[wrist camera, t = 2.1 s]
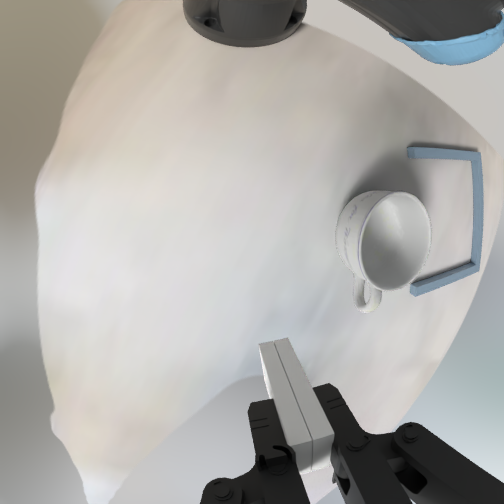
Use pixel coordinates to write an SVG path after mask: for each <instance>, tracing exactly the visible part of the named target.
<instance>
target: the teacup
mask: <svg viewBox="0 0 504 504" xmlns="http://www.w3.org/2000/svg"><path fill="white" fill-rule="evenodd" d="M335 237H336V246H337V250H338V253H339V256H340V258H341V259H342V261H343V262H344V264H345V265H346V266H347V267H348V268H349V269H350V270H351V271H352V272H354V273H353V275H354V289H353V300H354V304H355V307H356V308H357V309H358V310H359V311H361V312H363V313H371V312H373V311H375V310H376V309H377V308H378V306H379V304H380V302H381V298H382V291H395V290H399V289H402V288H404V287H405V286H407V285H408V284H410V283H411V282H412V281H413V280H414V279H415V278H416V277H417V275H418V274H419V273H420V271H421V270H422V268H423V266H424V265H425V263H426V260H427V258H428V255H429V252H430V247H431V239H432V228H431V222H430V218H429V215H428V212H427V210H426V208H425V207H424V205H423V204H422V202H421V201H420V200H419V199H418V198H417V197H416V196H415V195H413V194H410V193H408V192H404V191H395V192H393V191H368V192H364V193H362V194H360V195H358V196H356V197H354V198H353V199H352V200H351V201H350V202H349V203H348V204H347V205H346V206H345V208H344V209H343V211H342V212H341V214H340V217H339V219H338V222H337V226H336V234H335ZM365 281H366V282H367V284H368V286H369V288H370V298H369V301H368V302H367V304H366V303H365V300H364V283H365Z"/></svg>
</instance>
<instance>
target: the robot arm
mask: <svg viewBox="0 0 504 504" xmlns="http://www.w3.org/2000/svg"><path fill="white" fill-rule="evenodd" d="M339 1H340V2H343V3H344V4H346V5H348V6H349V7H351V8H353V9H354V10H356V11H358V12H359V13H361V14H363V15H364V16H366V17H367V18H369V19H370V20H372V21H374V22H375V23H376V24H378V25H379V26H381V27H382V28H384V29H385V30H386V31H388V32H389V34H390V35H391V36H392V37H393V38H394V39H396V40H398V41H400V42H403V43H404V44H405V45H407V46H408V47H409V48H411V49H412V50H413V51H415V52H416V53H417V54H419V55H420V56H421V57H423V58H424V59H426V60H428V61H430V62H433V63H437V64H446V65H462V64H468V63H471V62H475V61H478V60H480V59H483V58H485V57H487V56H489V55H490V54H492V53H493V52H495V51H496V50H497V49H498V48H499V47H500V46H501V45H502V44H503V43H504V14H503V12H502V11H501V10H502V9H503V8H504V0H339ZM306 2H307V0H183V8H184V14H185V18H186V20H187V22H188V23H189V25H190V26H191V27H192V28H193V29H194V30H195V31H196V32H197V33H199V34H200V35H202V36H203V37H205V38H207V39H209V40H212V41H214V42H217V43H221V44H224V45H229V46H236V47H259V46H266V45H270V44H274V43H277V42H279V41H281V40H284V39H285V38H287V37H289V36H290V35H291V34H292V33H293V32H294V31H295V30H296V29H297V28H298V26H299V25H300V23H301V22H302V20H303V18H304V16H305V13H306V8H307V3H306ZM259 350H260V356H261V362H262V368H263V374H264V380H265V384H266V387H267V391H268V395H269V398H270V399H268V400H263V401H258V402H252V403H251V404H250V407H249V410H248V417H249V422H250V428H251V432H252V438H253V443H254V448H255V453H256V456H255V465H254V466H253V468H252V469H251V470H250V471H249V472H247V473H245V474H244V475H242V476H239V477H237V478H234V479H229V478H217V479H215V480H212V481H211V482H209V483H208V484H207V485H206V486H205V488H204V490H203V494H202V499H201V502H200V504H310V501H309V499H308V496H307V493H306V490H305V487H304V484H303V481H302V478H301V475H302V474H306V473H310V472H311V470H312V472H313V471H317V470H320V469H323V468H327V467H330V462H331V464H332V466H333V468H334V473H333V478H332V482H333V483H335V482H337V485H338V487H339V490H340V492H341V494H342V497H343V499H344V501H345V503H346V504H412V502H411V500H413V501H414V502H415V503H416V504H504V483H503V482H501V481H500V480H498V479H496V478H495V477H494V476H492V475H491V474H489V473H488V472H486V471H485V470H483V469H482V468H480V467H479V466H477V465H476V464H475V463H473V462H472V461H470V460H469V459H467V458H466V457H465V456H463V455H462V454H460V453H459V452H458V451H456V450H455V449H453V448H452V447H451V446H449V445H448V444H446V443H445V442H444V441H442V440H441V439H440V438H438V437H437V436H436V435H434V434H433V433H431V432H430V431H429V430H428V429H426V428H425V427H423V426H422V425H420V424H418V423H414V422H409V423H405V424H403V425H401V426H399V428H398V429H397V430H396V431H395V432H392V433H386V434H377V435H375V434H370V433H367V432H365V431H364V430H363V429H362V428H361V427H360V426H359V424H358V422H357V421H356V419H355V417H354V416H353V414H352V412H351V411H350V409H349V407H348V406H347V405H346V402H345V401H344V399H343V398H342V395H341V394H340V392H339V390H338V389H337V388H336V387H334V386H333V385H331V384H330V383H328V384H324V385H321V386H317V387H314V388H312V386H311V384H310V382H309V380H308V378H307V376H306V374H305V372H304V370H303V368H302V366H301V364H300V362H299V360H298V358H297V356H296V354H295V352H294V349H293V347H292V345H291V343H290V341H289V339H288V338H285V339H280V340H276V341H274V342H273V341H271V342H266V343H261V344H259ZM410 499H411V500H410Z"/></svg>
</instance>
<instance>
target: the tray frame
mask: <svg viewBox="0 0 504 504" xmlns="http://www.w3.org/2000/svg"><path fill="white" fill-rule="evenodd" d="M407 150H408V158H426V159H454V160H470V161H471V163H472V175H473V199H474V217H473V241H472V254H471V263H469V264H466V265H464V266H461V267H458V268H456V269H453V270H450V271H448V272H445V273H442V274H439V275H436V276H433V277H430V278H428V279H425V280H422V281H419V282H416V283H412V284H411V286H410V293H411V294H412V295H414V296H415V297H416V296H419V295H421V294H424V293H427V292H429V291H432V290H435V289H437V288H440V287H442V286H445V285H447V284H450V283H452V282H455V281H457V280H460V279H462V278H464V277H467V276H469V275H471V274H474V273H476V272H478V271H479V268H480V259H481V249H482V236H483V175H482V162H481V153H480V152H472V151H463V150H453V149H440V148H425V147H409V148H407Z"/></svg>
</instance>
